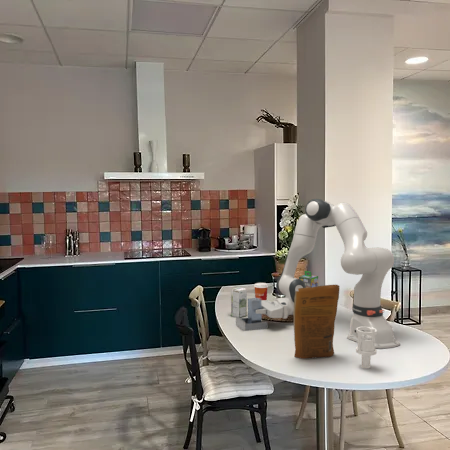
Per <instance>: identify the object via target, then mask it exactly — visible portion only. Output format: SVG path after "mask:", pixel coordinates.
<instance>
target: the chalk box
mask: <svg viewBox="0 0 450 450" xmlns="http://www.w3.org/2000/svg"><path fill="white" fill-rule="evenodd" d="M298 279H300V280H302V281H303V282H304V283H305V286H306V288H308V287H317V286H319V275H313V274H312V272H311V271H310V270H304V275H303V274H302V275H301V276H298Z"/></svg>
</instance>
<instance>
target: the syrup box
mask: <svg viewBox="0 0 450 450" xmlns="http://www.w3.org/2000/svg"><path fill="white" fill-rule="evenodd" d="M230 293H231V297H230V298H231V299H230V300H231V302H230V303H231V308H230V309H231V312H230V314H231V315H230V316H231V317H233V318H236V317H239V318H245V317H247V315H248V297H247V296H248V294H247V293H248V291H247V288H244V287H240V286H239V287H236V288H231V292H230Z"/></svg>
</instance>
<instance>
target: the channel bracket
mask: <svg viewBox="0 0 450 450" xmlns="http://www.w3.org/2000/svg"><path fill="white" fill-rule="evenodd" d="M235 325H236V326H237V327H238V328H239V329H240V330H241V331H242V332H245V331H256V330H264V329H265V330H266V329H268V321H262V322H257V323H248V317H241V318H239V317H235Z"/></svg>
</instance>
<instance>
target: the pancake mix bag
mask: <svg viewBox="0 0 450 450" xmlns="http://www.w3.org/2000/svg"><path fill="white" fill-rule="evenodd" d="M339 298H340V285H338V284H328V285H327V284H326V285H318V286H317V287H308V288H298V291H295V297H294V312H293V315H292V316H293V331H294V332H293V333H294V334H293V335H294V337H293V339H294V348H295V350H294V357H295V358H297V359H302V360H307V359H318V358H319V359H320V358H331V357H333V356H334V354H335V350H334V336H335V324H336V323H335V322H336V317H337V313H338V304H339V303H338V302H339Z"/></svg>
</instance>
